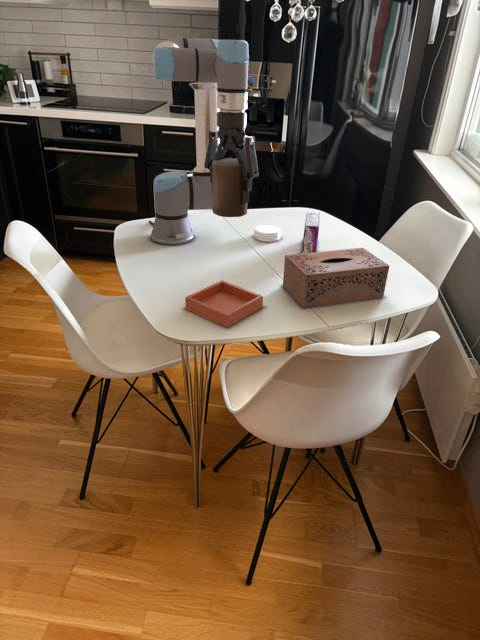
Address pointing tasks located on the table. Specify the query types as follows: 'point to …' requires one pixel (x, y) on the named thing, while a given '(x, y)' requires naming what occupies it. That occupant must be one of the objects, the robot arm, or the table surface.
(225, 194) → the pillar candle
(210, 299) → the holder
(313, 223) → the candy bar box
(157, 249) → the table surface
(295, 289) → the tissue box cover
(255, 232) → the coaster
